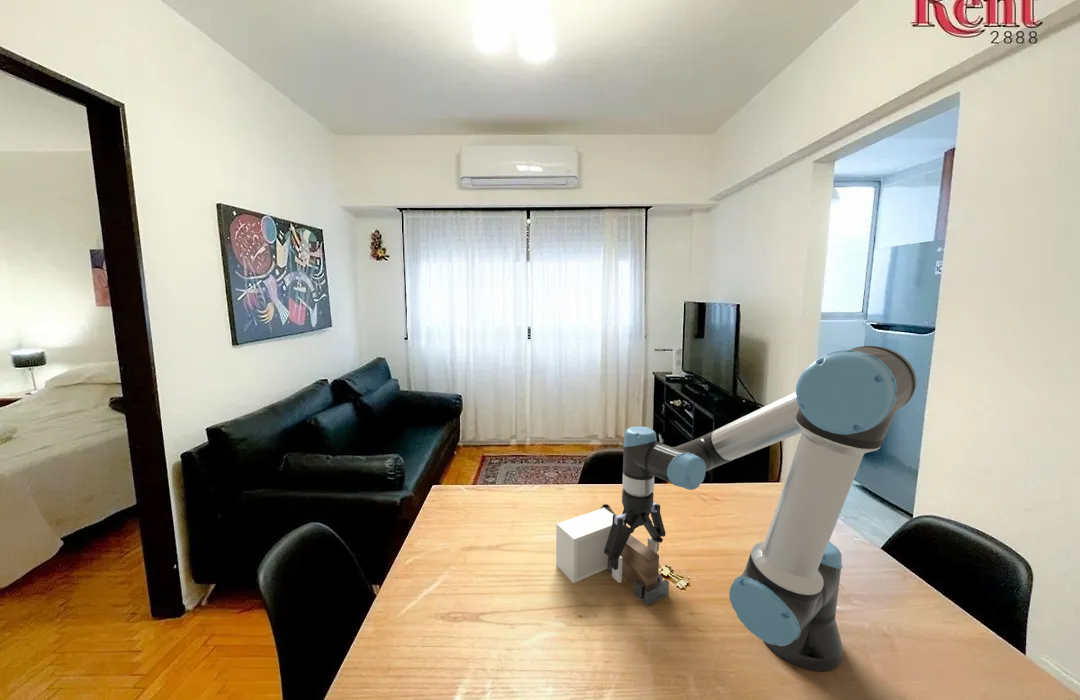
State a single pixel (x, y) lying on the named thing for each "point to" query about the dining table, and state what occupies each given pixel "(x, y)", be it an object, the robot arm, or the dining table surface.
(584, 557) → the cabinet
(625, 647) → the dining table surface
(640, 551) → the door
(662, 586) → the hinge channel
